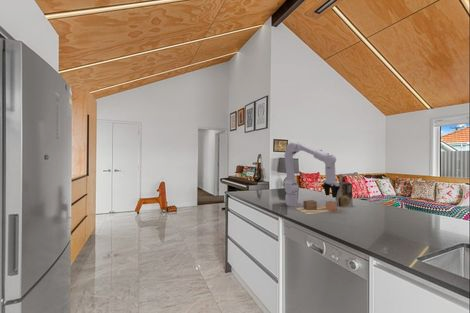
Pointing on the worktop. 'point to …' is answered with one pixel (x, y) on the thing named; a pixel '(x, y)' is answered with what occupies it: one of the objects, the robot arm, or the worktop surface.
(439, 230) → the worktop surface
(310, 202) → the slab high
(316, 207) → the slab low
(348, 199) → the coffee box
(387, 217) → the worktop surface
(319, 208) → the board
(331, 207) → the block
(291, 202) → the robot arm
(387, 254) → the worktop surface
